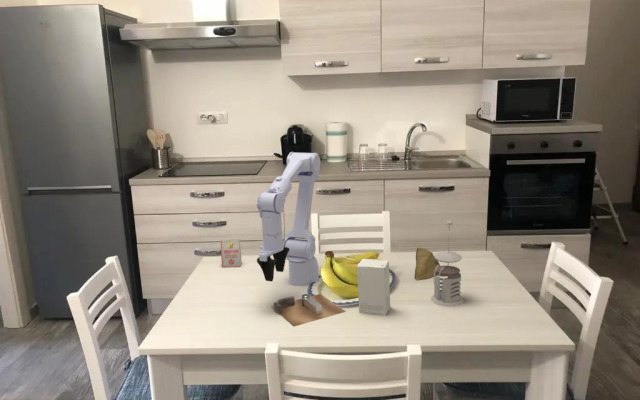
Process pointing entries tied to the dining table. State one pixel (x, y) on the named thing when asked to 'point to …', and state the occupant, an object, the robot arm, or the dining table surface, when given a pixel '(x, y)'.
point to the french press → (447, 279)
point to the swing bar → (311, 304)
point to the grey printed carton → (230, 253)
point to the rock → (425, 264)
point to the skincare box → (373, 286)
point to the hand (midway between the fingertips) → (274, 275)
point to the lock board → (304, 310)
